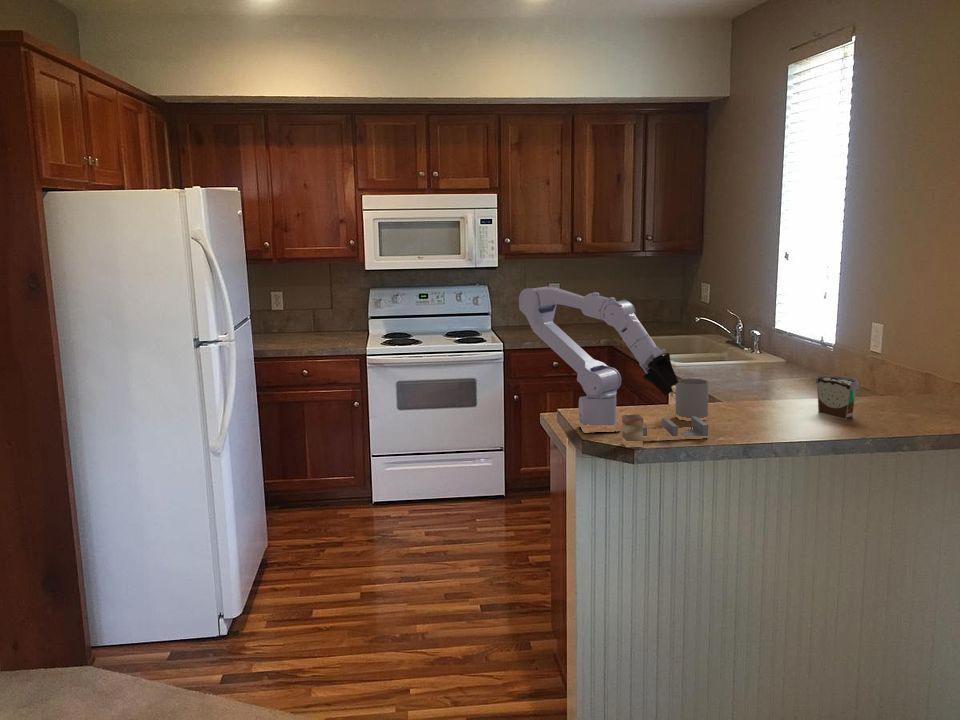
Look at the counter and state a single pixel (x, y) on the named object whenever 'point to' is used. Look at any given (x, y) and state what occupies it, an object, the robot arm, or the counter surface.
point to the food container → (836, 395)
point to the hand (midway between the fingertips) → (671, 389)
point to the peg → (632, 427)
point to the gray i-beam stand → (698, 430)
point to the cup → (692, 398)
